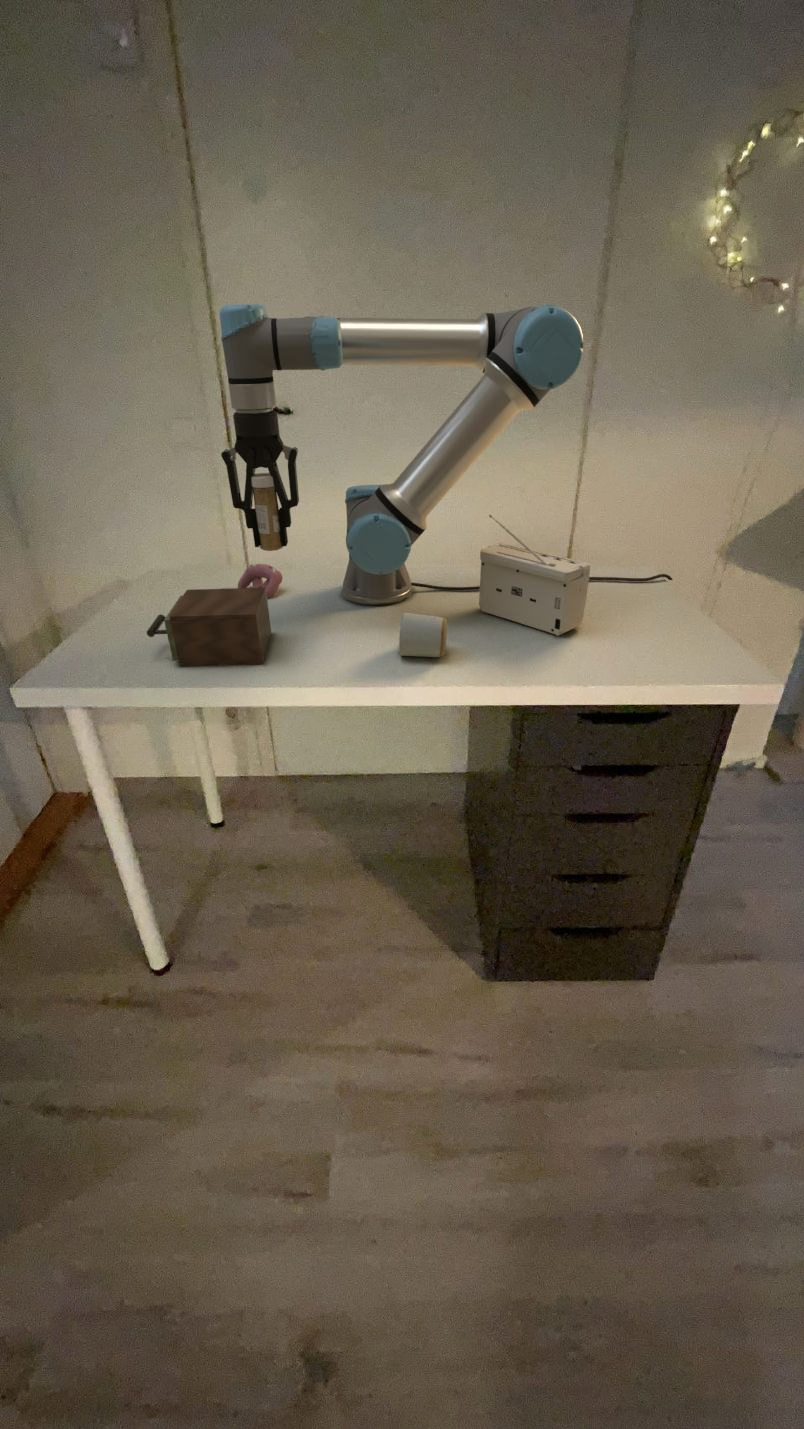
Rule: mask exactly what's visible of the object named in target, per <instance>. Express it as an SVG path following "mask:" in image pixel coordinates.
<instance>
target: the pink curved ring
mask: <svg viewBox="0 0 804 1429" xmlns="http://www.w3.org/2000/svg"><path fill="white" fill-rule="evenodd" d="M263 579H266V580H264V581H263ZM282 582H283V573H282V572H281V571H280V570H277V569H276V567H274V566H272V565H269V564H266V563H257V564H256V563H254V564H251V563H250V564H249V566H248V567H246V568H245V570H244V571H243V574H242V575H241V577H240V578H239V580H238V582H237V588H249V586H250V585H251V584H252V588H266V594H267V599H270V598H272V597H273V596H274V595H275V594H276V593H277V591H278V589H279V587H280V585H281V584H282Z"/></svg>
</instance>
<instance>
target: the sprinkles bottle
mask: <svg viewBox="0 0 804 1429" xmlns="http://www.w3.org/2000/svg"><path fill="white" fill-rule="evenodd" d="M251 480H252V487H253V488H252V489H253V501H254V504H253V505H254V509H255V513H256V520H257V527H258V532H259V538H260V546H259V548H260V549H261V550H262V551H266V552H274V551H279V550H281V549H282V548H284V546H282V539H281V530H280V522H279V513H278V511H279V509H280V507H279V502H278V501H279V500H278V495H277V492H276V489H275V486H274V483H273V477H272V476H271V475H270V473H269V472H257V473H255V474H254V476H253V477H252V478H251Z"/></svg>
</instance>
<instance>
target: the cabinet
mask: <svg viewBox="0 0 804 1429" xmlns="http://www.w3.org/2000/svg"><path fill="white" fill-rule="evenodd" d="M181 596H182V598H181V599H180V601H179V602H178V604H177V605H176V607H175V608H174V610H173V611H172V613H171V614H170V616H169V618H170V623H171V627H172V632H173V637H174V641H175V646H176V651H177V655H178V660H177V661H178V664H179V667H207V666H209V667H210V666H214V667H215V666H242V665H263V664H264V661H265V657H266V654H267V650H268V648H269V645H270V641H271V638H272V627H271V617H270V609H269V603H268V597H267V594H266V588H263V587H262V588H254V587H247V588H238V587H233V588H203V589H199V588H197V589H186V591H185V592H184V593H183V594H182V595H181Z"/></svg>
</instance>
